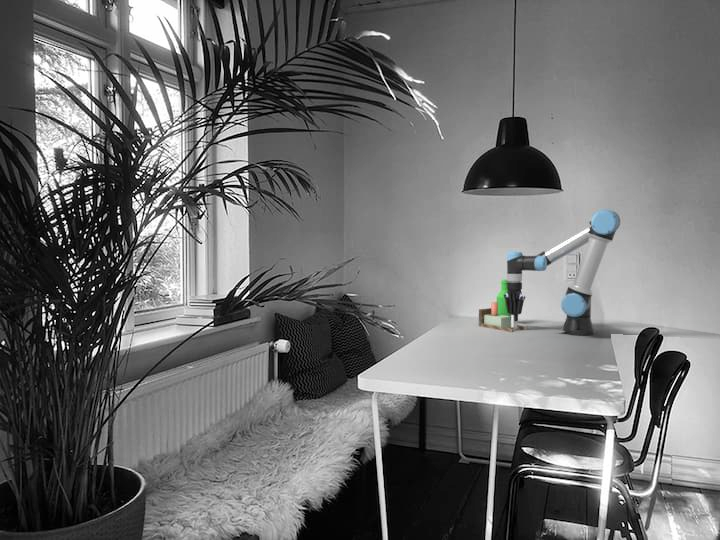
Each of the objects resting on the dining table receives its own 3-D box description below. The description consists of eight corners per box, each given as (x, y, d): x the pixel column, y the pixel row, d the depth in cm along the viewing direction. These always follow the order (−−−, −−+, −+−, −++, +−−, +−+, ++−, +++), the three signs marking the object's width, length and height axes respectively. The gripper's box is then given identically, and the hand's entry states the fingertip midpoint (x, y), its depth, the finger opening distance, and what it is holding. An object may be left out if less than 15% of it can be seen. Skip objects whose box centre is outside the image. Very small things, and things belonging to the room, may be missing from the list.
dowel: (498, 325, 339) (499, 302, 338) (494, 325, 337) (494, 303, 336) (494, 324, 342) (494, 302, 341) (489, 324, 340) (490, 302, 339)
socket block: (511, 327, 335) (511, 316, 334) (501, 329, 330) (501, 317, 330) (494, 324, 345) (494, 313, 344) (484, 326, 340) (484, 315, 340)
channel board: (527, 332, 329) (527, 312, 328) (511, 334, 322) (512, 314, 321) (494, 326, 347) (494, 307, 347) (478, 328, 341) (478, 309, 340)
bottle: (514, 324, 355) (515, 279, 353) (509, 326, 347) (510, 280, 346) (499, 323, 359) (500, 278, 358) (493, 325, 352) (494, 280, 350)
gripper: (529, 282, 324) (528, 328, 325) (509, 280, 334) (509, 325, 336) (519, 283, 319) (518, 329, 321) (499, 281, 330) (499, 326, 332)
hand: (514, 327), depth 328 cm, fingers closed
